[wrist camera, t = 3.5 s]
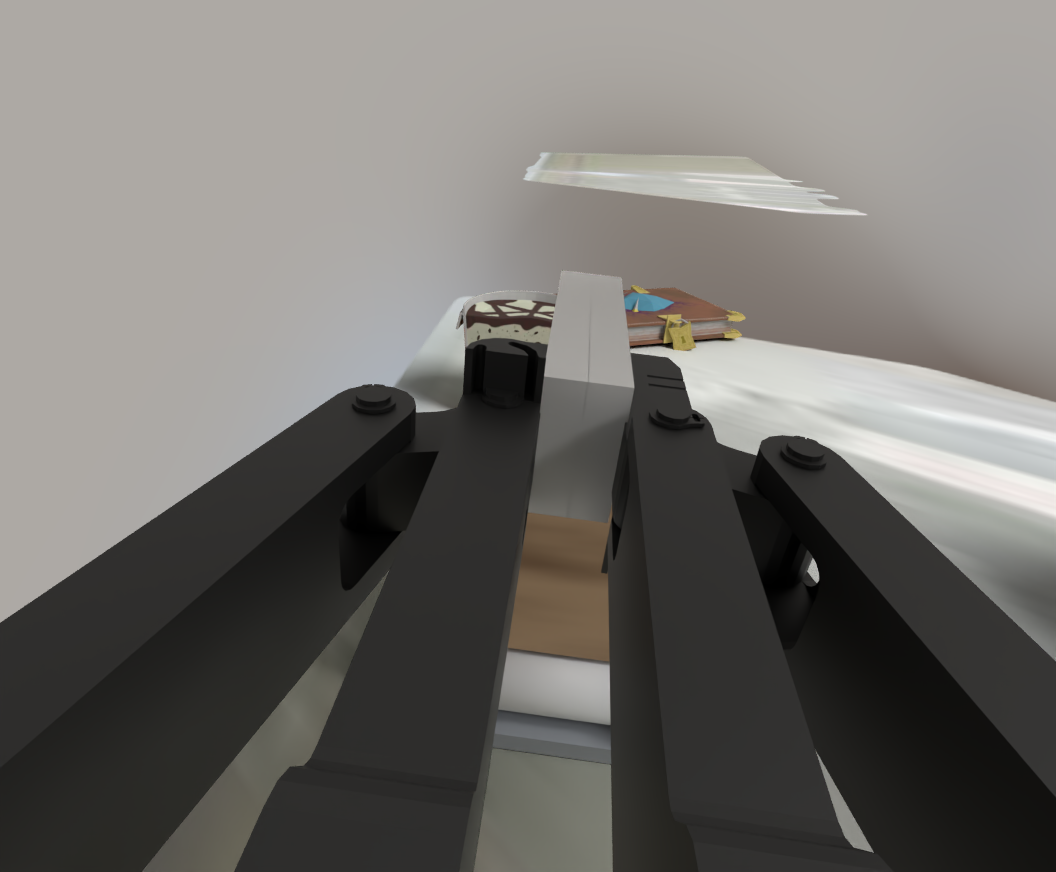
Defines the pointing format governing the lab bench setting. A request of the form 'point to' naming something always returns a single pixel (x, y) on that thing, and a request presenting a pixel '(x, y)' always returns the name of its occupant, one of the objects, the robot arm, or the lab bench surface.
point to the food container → (508, 316)
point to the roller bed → (553, 736)
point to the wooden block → (562, 589)
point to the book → (675, 318)
